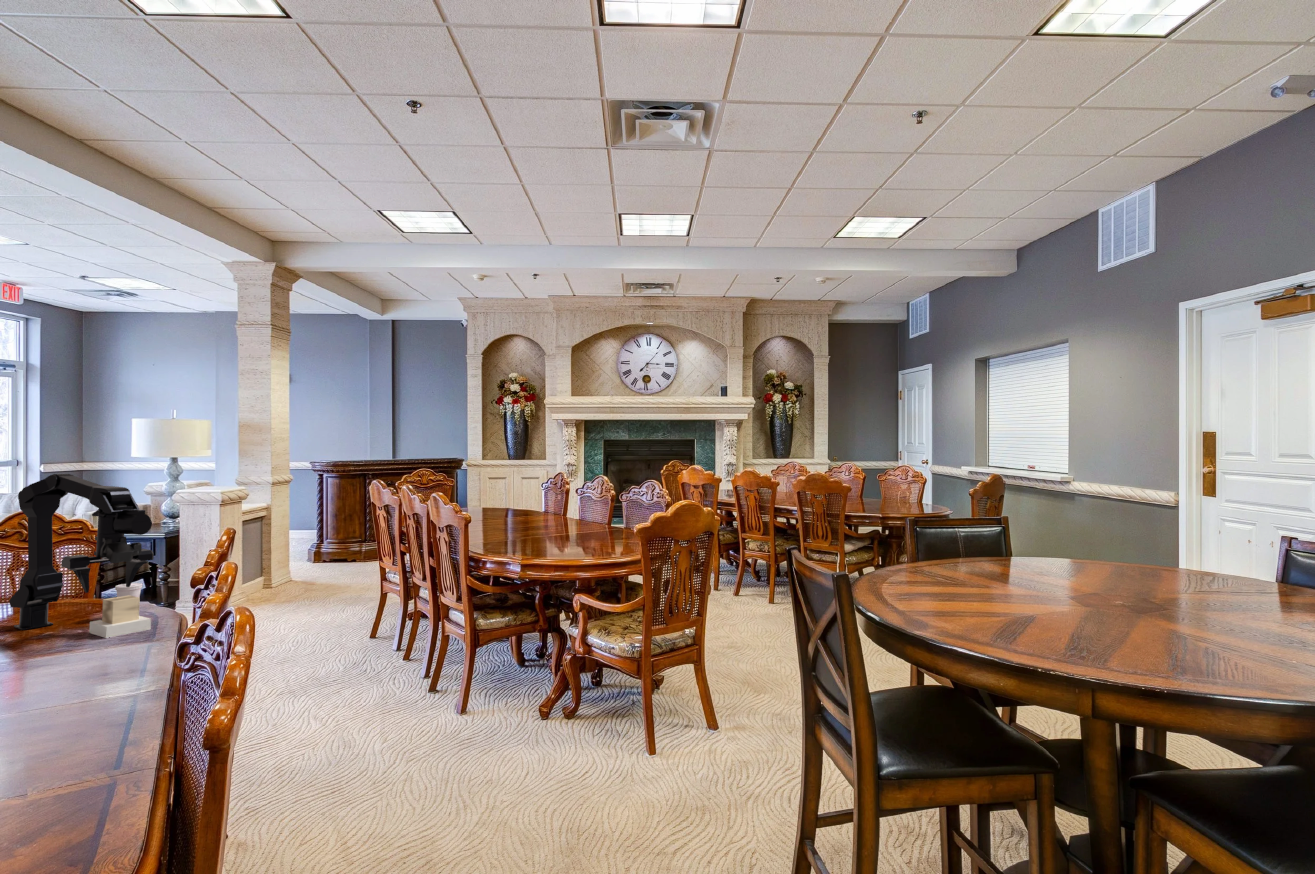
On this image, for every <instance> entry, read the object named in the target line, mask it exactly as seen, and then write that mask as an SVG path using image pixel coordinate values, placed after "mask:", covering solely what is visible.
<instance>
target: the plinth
mask: <svg viewBox="0 0 1315 874" xmlns="http://www.w3.org/2000/svg"><path fill="white" fill-rule="evenodd" d="M151 629H152V618H151V617H146V616H141V615H139V619H138V620H133V621H127V622H122V623H116V624H110V623H106V622H103V621H102V619H99V620H93V621H90V622H89V634H92V635H95V636H98V637H102V638H103V639H109V637H110V638H115V637H120V636H125V635H130V634H135V633H139V632H141V633H142V632H145V631H149V630H151Z"/></svg>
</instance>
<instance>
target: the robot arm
mask: <svg viewBox="0 0 1315 874" xmlns="http://www.w3.org/2000/svg"><path fill="white" fill-rule="evenodd" d="M68 494H72V495H76V496H78V497H81V498H84V499H86V500H88V502H89V504H90V505H92V506H94V507H95V508H97V509H96V511H94V512H92V513H91V516H92V517H97V528H96V529H97V530H96V536H94V541H96V547H95V548H96V549H95V551H93V555H94V556H88V555H84V554H76V555H65V556H64V557H63V558H62V560H61V564H60V565H61V567H62V568H65V569H67V570H69V571H72V572H73V573H74V574H75V576H76V578H77V579H78V581H79V583H80V585H81V587H82V589H83V591H84V593H85V594H88V593H89V591H90V571H91V569H92V568H90V567H89V566H90V564H91V565H92V564H100V563H108V562H110V563H111V564H118V563H121V562H122V563H123V562H124V563H125V562H126V563H125V584H126V587H130V585H131V583H133V580H134V578H135V576H136V574H137V572H138V571H139V570H140V568H141V567H143V565H146V564H148V562H149V561H153V560H154V558H155V557H154V555H155V554H154V551H153V550H152V549H149V548H142V543H141V542H131V543H128V541H127V536H125V535H135V536H142V535H143V536H144V535H145V534H147V533H148V532H149V531H150V530H151V528H152V527H153V525H152V524H153V521H152V519H151V517H150V516H149V514H147V513H146V509H140V508H139V505H138V504H137V502H136V500H135V498H134V497H133V495H132V493H131V492H130V489H129V488H127V487H123V486H115V485H114V486H113V485H111V486H109V485H101V484H99V483H96V482H93V481H90V480H86V479H83V478H80V477H77V476H75V475H74V474H70V473H53V474H50V475H48V476H47V477H46V478H43V479H41V480H38V481H35V482H34V483H30V484H28V485H27V486H24V487H23V488H22V489H21V490H20V491H19V493H18V494H17V499H18V505H19V510H20V511H21V512H22V513H23V514H24V515H25V517H26V518H27V544H28V545H27V549H28V550H27V554H28V555H27V558H28V559H27V561H28V562H27V563H28V564H27V567H28V568H27V570H26V571H25V573H24V574H23V576H22V577H21V578H20V580H19V581H20V582H19V583H20V584H19V589H17V590H16V592H14V594H13V595H12V596H11V598H10V599H8V601H9V605H10V608H16V609H17V608H18V609H19V623H18V624H14V625H13V628H15V629H17V630H18V629H19V630H21V631H24V630H30V629H39V628H43V627H49V626H53V625H54V623H53V622H50V621H48V620H49V619H48V618H49V603H56V602H59V598H60V595H61V593H62V589H63V587H64V585H65V584H64V582H63V576H64V574H63V572H62V571H58V570H56V569H55V567H54V565H53V564H54V563H53V562H54V559H53V555H54V554H53V551H54V550H53V516H54V514H55V513H56V512H57V510H58V509H59V508H60V506H61V504H60V503H61V499H62V498H64V497H65V496H67V495H68Z"/></svg>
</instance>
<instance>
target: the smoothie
mask: <svg viewBox="0 0 1315 874" xmlns="http://www.w3.org/2000/svg"><path fill="white" fill-rule="evenodd" d="M142 588H143V583H141V582H132V583H131V585H130V587H126V583H121V584H118V585H115V588H114V590H115V592H116V597H122V596H128V595H130V596H134V597H139V598H140V596H141V591H142Z"/></svg>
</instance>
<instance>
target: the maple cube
mask: <svg viewBox="0 0 1315 874" xmlns="http://www.w3.org/2000/svg"><path fill="white" fill-rule="evenodd" d="M140 600H141V599H140V596H139V597H134V596H130V595H128V596H122V597H117V596H116V597H110V598H103V599H102V617H101V618H102V619H101V620H102V621H103V622H106V623H110V624H116V623H122V622H127V621H133V620H138V619H139V616H140V603H141V602H140Z"/></svg>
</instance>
